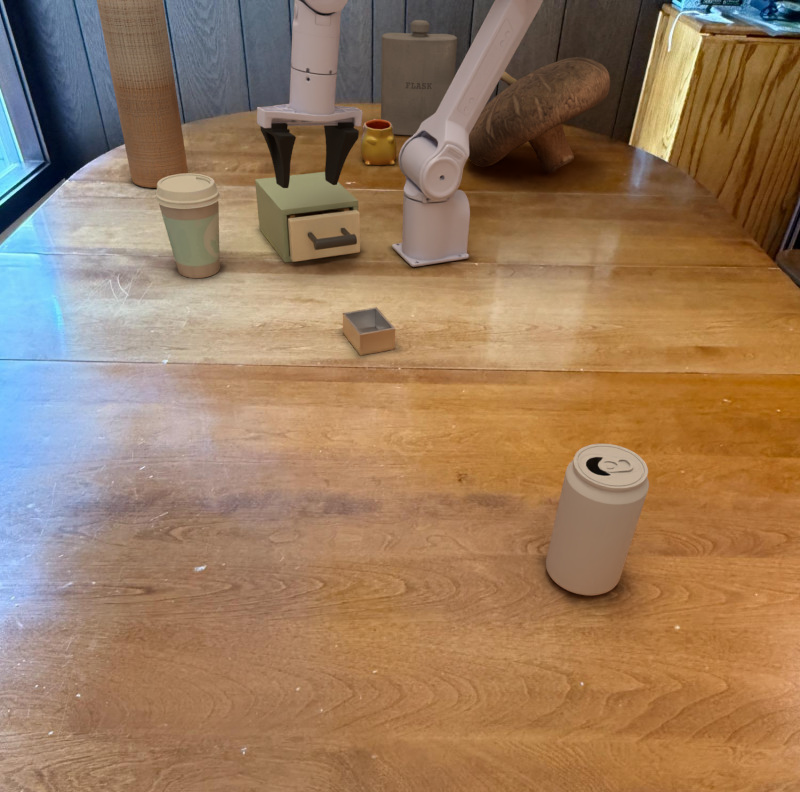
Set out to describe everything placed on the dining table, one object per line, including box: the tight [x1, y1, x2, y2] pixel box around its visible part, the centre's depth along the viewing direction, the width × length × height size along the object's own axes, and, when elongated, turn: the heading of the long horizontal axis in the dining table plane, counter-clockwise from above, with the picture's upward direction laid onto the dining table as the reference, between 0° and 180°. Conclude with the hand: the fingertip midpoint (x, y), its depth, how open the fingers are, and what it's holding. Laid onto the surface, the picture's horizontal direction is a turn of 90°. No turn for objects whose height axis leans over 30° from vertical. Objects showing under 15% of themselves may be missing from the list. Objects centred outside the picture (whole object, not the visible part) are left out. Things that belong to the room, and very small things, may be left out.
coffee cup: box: [154, 172, 222, 279], centre depth 107 cm, size 9×8×12 cm
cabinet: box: [254, 171, 359, 263], centre depth 117 cm, size 14×12×8 cm
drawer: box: [287, 207, 361, 263], centre depth 114 cm, size 17×10×6 cm, turn 23°
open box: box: [342, 306, 396, 356], centre depth 96 cm, size 5×6×3 cm
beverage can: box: [545, 443, 650, 596], centre depth 63 cm, size 6×6×12 cm
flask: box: [380, 19, 458, 137], centre depth 158 cm, size 15×6×20 cm, turn 92°
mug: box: [360, 118, 398, 166], centre depth 149 cm, size 12×7×7 cm, turn 3°
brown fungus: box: [468, 56, 611, 174], centre depth 143 cm, size 28×23×25 cm
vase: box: [96, 0, 189, 189], centre depth 129 cm, size 10×10×28 cm
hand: (307, 184), depth 105 cm, fingers open, 7 cm apart
